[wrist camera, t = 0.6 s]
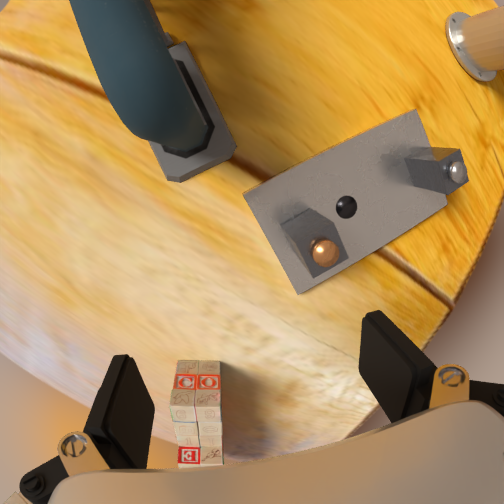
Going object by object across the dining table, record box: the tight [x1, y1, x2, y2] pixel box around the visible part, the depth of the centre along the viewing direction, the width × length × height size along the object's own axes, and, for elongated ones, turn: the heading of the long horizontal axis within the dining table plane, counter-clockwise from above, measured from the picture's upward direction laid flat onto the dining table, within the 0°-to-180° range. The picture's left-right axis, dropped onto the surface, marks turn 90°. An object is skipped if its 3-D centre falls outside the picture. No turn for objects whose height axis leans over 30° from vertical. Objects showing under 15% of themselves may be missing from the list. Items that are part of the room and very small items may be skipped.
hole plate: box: [242, 109, 448, 295], centre depth 34 cm, size 25×14×1 cm, turn 118°
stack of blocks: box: [170, 360, 224, 468], centre depth 37 cm, size 21×6×12 cm, turn 177°
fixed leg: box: [404, 147, 469, 195], centre depth 29 cm, size 4×4×8 cm
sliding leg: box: [281, 209, 349, 279], centre depth 30 cm, size 4×4×8 cm
